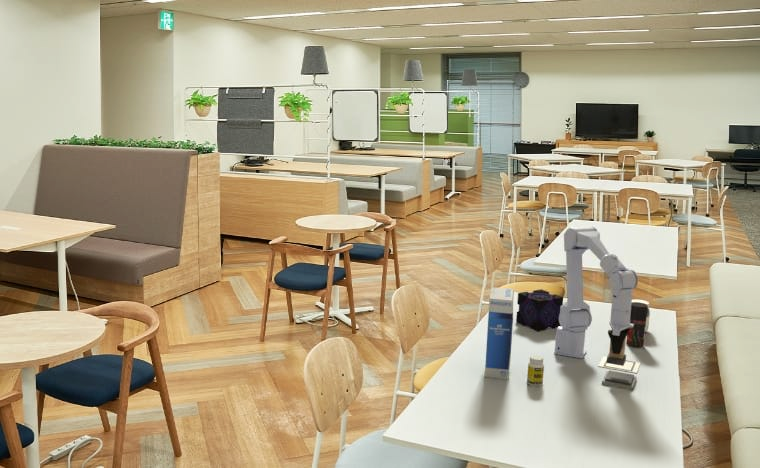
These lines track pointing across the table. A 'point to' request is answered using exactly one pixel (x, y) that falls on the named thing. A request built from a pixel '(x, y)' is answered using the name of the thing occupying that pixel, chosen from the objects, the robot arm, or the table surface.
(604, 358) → the marked card
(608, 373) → the ink pad
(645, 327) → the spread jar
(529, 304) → the energy cube
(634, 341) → the deodorant
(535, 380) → the supplement bottle
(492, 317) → the string lights box
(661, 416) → the table surface
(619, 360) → the stamp
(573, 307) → the robot arm
